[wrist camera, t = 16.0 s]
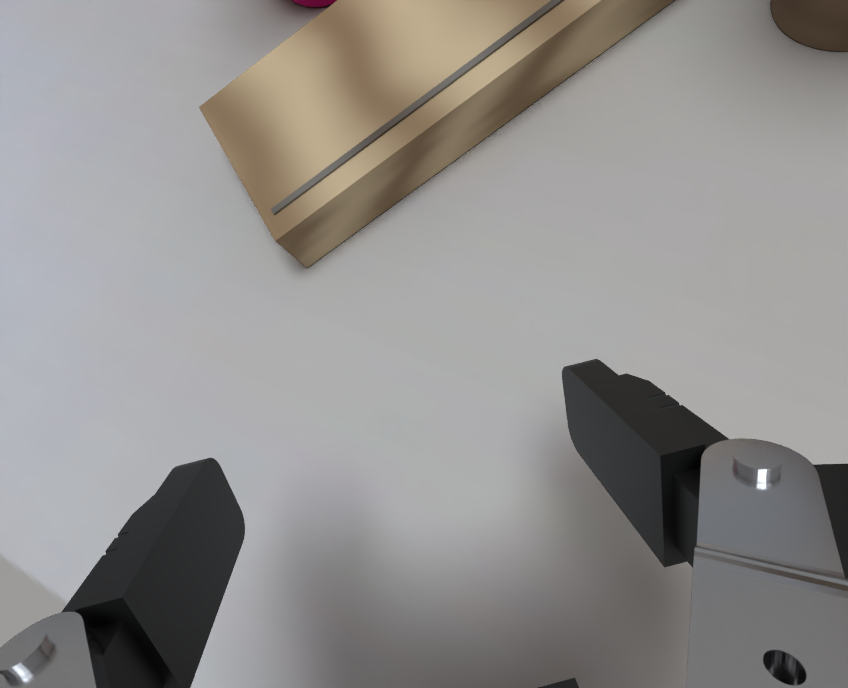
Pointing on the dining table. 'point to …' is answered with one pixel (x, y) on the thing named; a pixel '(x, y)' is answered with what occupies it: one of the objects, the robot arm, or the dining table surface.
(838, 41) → the wooden cylinder yellow top
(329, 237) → the board
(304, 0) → the pepper mill
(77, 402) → the dining table surface
